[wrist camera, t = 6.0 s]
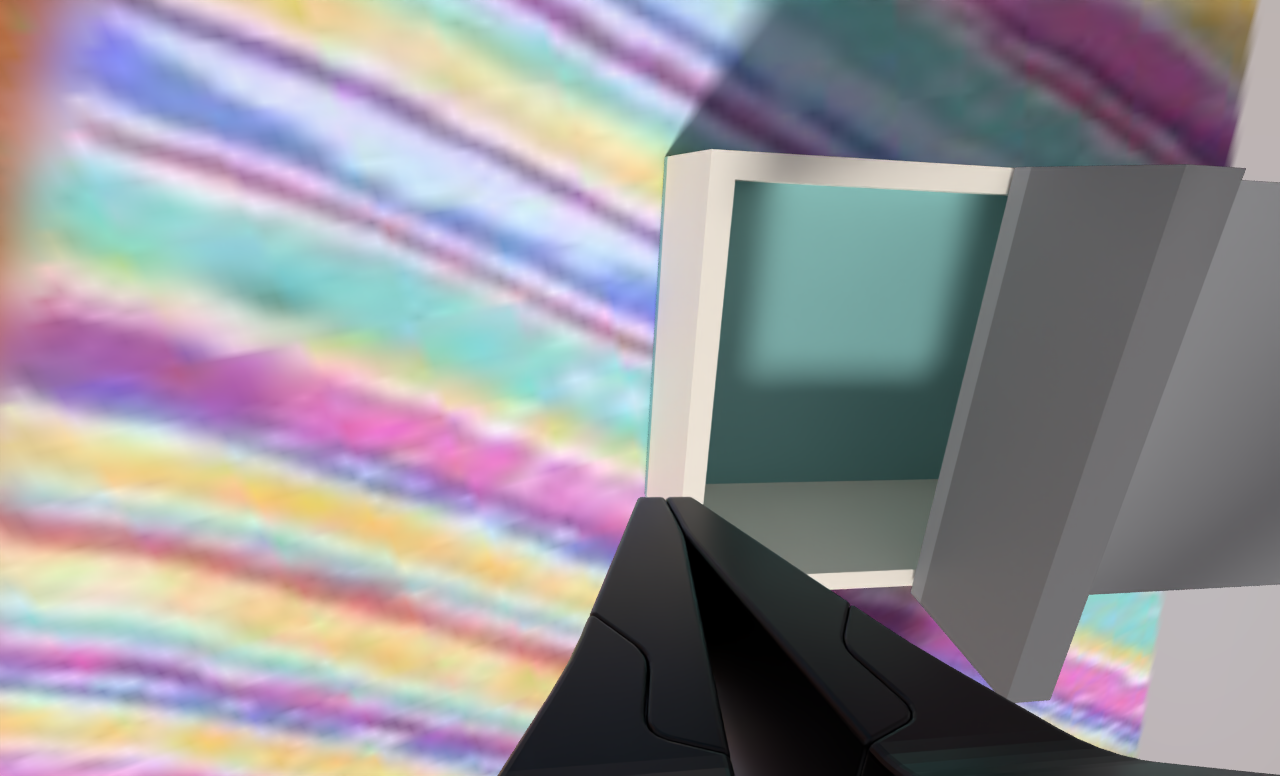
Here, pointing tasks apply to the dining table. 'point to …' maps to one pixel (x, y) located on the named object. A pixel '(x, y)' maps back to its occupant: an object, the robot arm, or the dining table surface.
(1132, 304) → the lid
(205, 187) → the dining table surface
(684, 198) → the box
